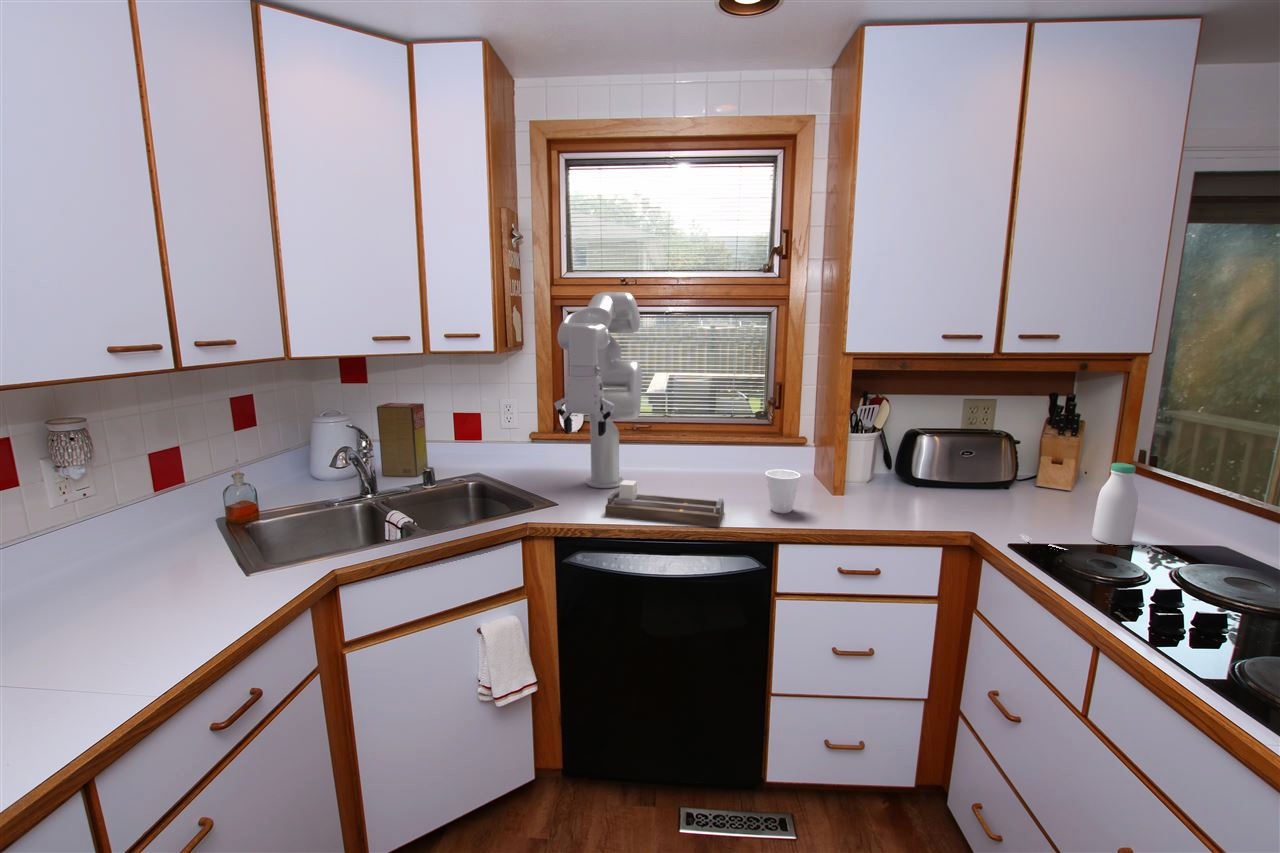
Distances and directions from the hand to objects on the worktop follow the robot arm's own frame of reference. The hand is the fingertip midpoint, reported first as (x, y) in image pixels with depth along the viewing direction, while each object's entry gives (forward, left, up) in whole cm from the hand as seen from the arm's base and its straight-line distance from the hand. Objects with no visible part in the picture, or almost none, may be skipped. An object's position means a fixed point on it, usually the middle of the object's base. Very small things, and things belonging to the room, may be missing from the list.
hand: (584, 433), depth 155 cm
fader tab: (-8, +10, -20) cm, 24 cm away
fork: (-7, +120, -24) cm, 123 cm away
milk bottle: (-18, +134, -24) cm, 137 cm away
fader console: (-8, +21, -24) cm, 33 cm away
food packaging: (-25, -78, -24) cm, 85 cm away
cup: (-20, +53, -24) cm, 62 cm away
